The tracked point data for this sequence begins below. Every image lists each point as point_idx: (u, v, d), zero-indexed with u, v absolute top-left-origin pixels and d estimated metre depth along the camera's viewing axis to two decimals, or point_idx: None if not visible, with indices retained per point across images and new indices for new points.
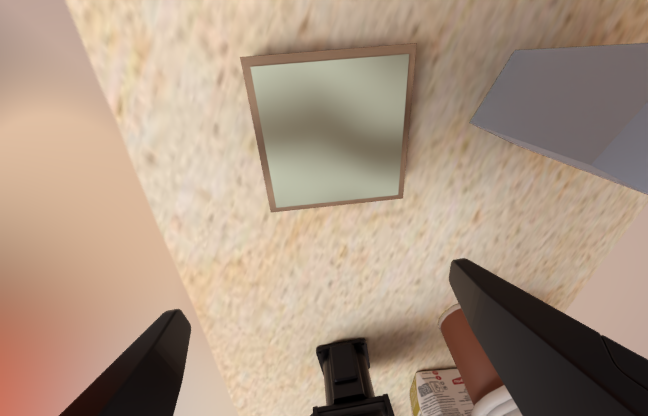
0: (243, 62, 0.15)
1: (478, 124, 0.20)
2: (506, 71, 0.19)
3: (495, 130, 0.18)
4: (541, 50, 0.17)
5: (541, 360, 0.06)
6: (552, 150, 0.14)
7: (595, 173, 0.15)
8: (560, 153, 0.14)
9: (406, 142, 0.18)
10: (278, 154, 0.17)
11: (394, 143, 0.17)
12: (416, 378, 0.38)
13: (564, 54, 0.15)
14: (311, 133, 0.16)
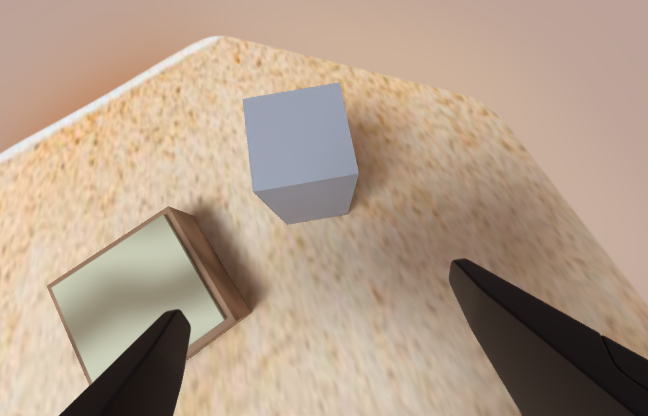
0: (49, 288, 0.19)
1: (284, 221, 0.22)
2: None
3: (280, 216, 0.20)
4: None
5: (541, 360, 0.06)
6: (263, 201, 0.15)
7: (333, 192, 0.15)
8: (261, 199, 0.15)
9: (206, 269, 0.19)
10: (90, 345, 0.17)
11: (189, 276, 0.18)
12: None
13: None
14: (113, 309, 0.18)
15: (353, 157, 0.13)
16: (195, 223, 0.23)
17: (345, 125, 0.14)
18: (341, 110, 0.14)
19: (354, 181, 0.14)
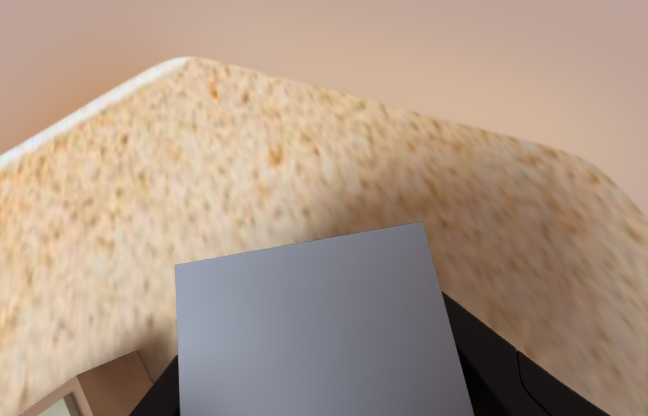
0: None
1: None
2: None
3: None
4: None
5: None
6: None
7: None
8: None
9: None
10: None
11: None
12: None
13: None
14: None
15: None
16: (139, 368, 0.14)
17: (449, 356, 0.05)
18: (434, 304, 0.05)
19: None
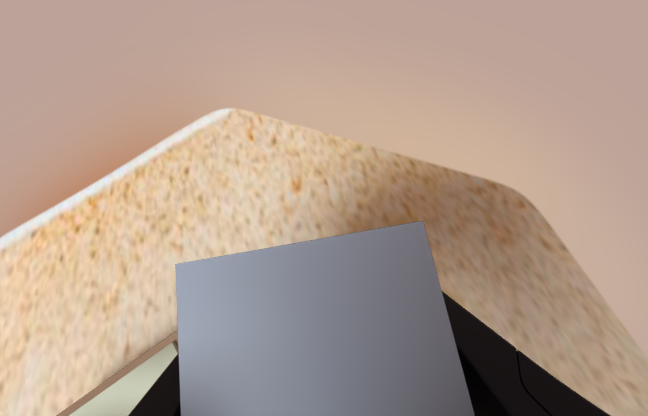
0: None
1: None
2: None
3: None
4: None
5: None
6: None
7: None
8: None
9: None
10: None
11: None
12: None
13: None
14: None
15: None
16: None
17: (450, 355, 0.05)
18: (434, 303, 0.05)
19: None
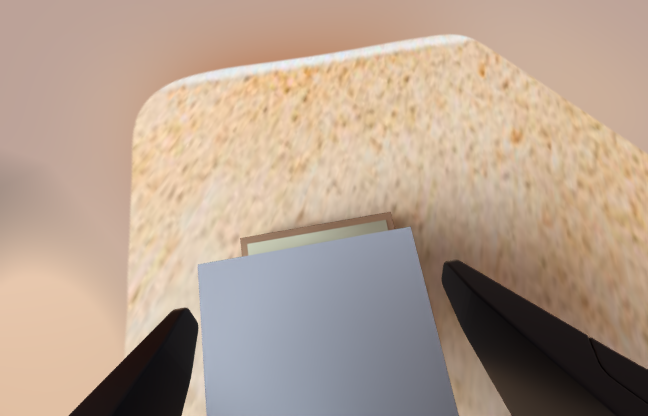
0: (242, 241, 0.17)
1: None
2: None
3: None
4: None
5: (529, 362, 0.06)
6: None
7: None
8: None
9: None
10: None
11: None
12: None
13: None
14: None
15: None
16: None
17: (432, 341, 0.06)
18: (419, 297, 0.06)
19: None
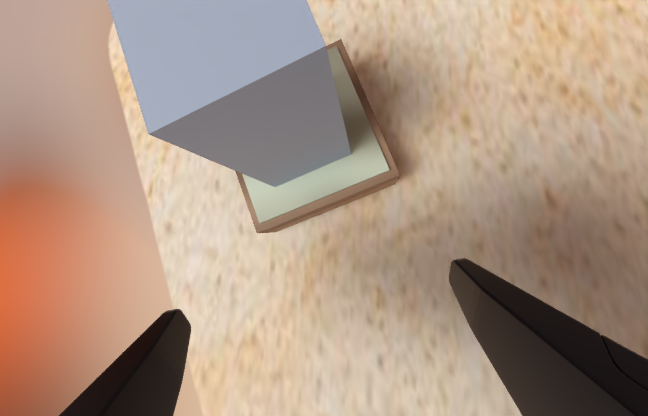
0: None
1: (268, 183, 0.16)
2: None
3: (254, 177, 0.14)
4: None
5: (541, 360, 0.06)
6: (197, 153, 0.09)
7: (302, 110, 0.09)
8: (188, 149, 0.09)
9: (373, 116, 0.17)
10: None
11: (357, 117, 0.17)
12: None
13: None
14: None
15: (309, 18, 0.07)
16: None
17: None
18: None
19: (327, 74, 0.08)
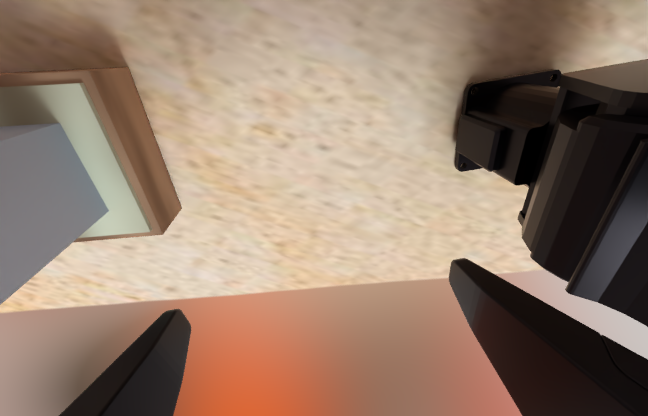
0: None
1: (95, 221, 0.15)
2: None
3: (71, 242, 0.14)
4: None
5: (541, 360, 0.06)
6: None
7: None
8: None
9: None
10: None
11: (1, 99, 0.13)
12: None
13: None
14: None
15: None
16: None
17: None
18: None
19: None
